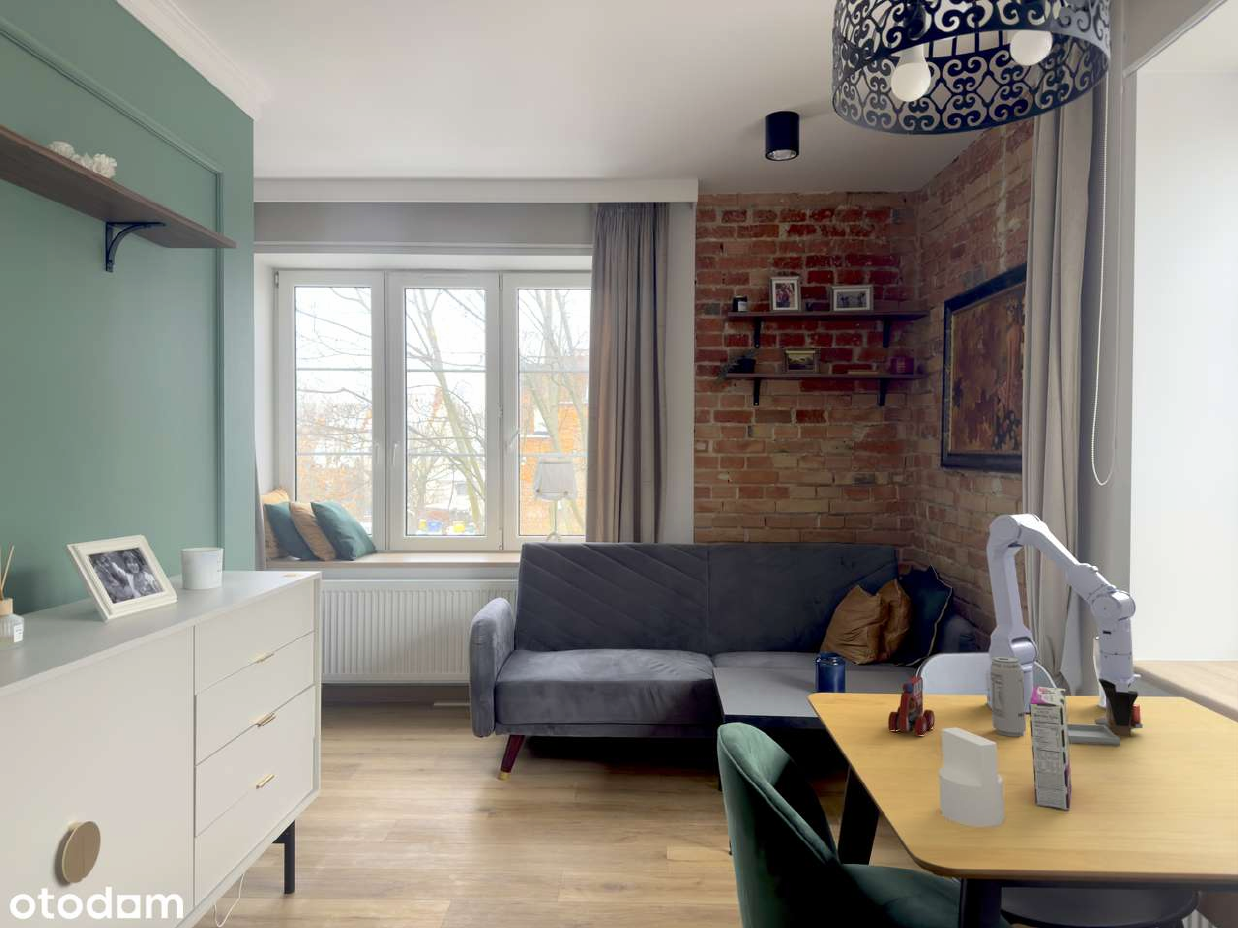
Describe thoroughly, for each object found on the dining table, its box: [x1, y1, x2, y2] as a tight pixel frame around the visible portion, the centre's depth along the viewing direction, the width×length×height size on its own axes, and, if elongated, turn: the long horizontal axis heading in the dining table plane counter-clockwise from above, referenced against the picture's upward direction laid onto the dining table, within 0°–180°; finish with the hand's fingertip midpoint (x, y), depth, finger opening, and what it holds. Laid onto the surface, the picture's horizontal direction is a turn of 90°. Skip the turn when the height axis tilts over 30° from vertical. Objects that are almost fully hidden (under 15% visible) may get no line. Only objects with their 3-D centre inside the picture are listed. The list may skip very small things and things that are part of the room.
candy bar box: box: [1029, 686, 1072, 811], centre depth 125 cm, size 11×5×16 cm, turn 148°
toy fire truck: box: [887, 675, 936, 736], centre depth 161 cm, size 7×12×10 cm, turn 142°
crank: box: [1105, 703, 1143, 729], centre depth 159 cm, size 9×3×4 cm, turn 1°
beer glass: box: [1092, 637, 1106, 709], centre depth 174 cm, size 7×7×15 cm
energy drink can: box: [989, 656, 1027, 737], centre depth 158 cm, size 6×6×15 cm
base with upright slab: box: [938, 727, 1006, 828], centre depth 119 cm, size 9×9×12 cm
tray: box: [1067, 722, 1121, 746], centre depth 153 cm, size 9×9×1 cm
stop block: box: [1105, 698, 1132, 738], centre depth 155 cm, size 4×4×6 cm
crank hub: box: [1094, 717, 1135, 730], centre depth 161 cm, size 7×7×1 cm
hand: (1119, 719), depth 155 cm, fingers open, 7 cm apart
